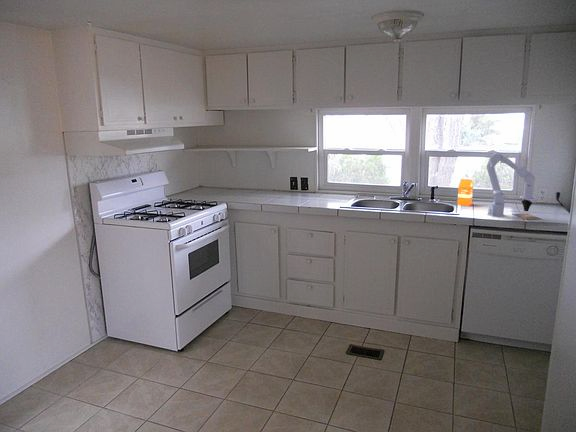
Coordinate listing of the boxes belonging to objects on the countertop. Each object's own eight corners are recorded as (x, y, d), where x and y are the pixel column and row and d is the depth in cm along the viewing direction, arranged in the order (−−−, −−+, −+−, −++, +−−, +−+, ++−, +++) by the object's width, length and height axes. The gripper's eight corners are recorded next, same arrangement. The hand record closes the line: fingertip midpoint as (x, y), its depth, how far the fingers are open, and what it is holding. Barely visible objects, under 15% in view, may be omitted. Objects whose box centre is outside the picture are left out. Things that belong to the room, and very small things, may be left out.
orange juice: (460, 202, 353) (462, 178, 348) (471, 204, 347) (473, 179, 343) (457, 204, 347) (459, 179, 342) (468, 205, 341) (470, 180, 337)
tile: (520, 217, 300) (525, 219, 294) (520, 214, 300) (526, 216, 294) (528, 217, 301) (534, 219, 295) (529, 214, 300) (534, 216, 294)
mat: (525, 220, 294) (525, 219, 294) (511, 214, 310) (511, 214, 310) (542, 219, 295) (542, 219, 295) (527, 214, 311) (527, 213, 311)
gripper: (540, 193, 289) (538, 213, 292) (527, 189, 303) (525, 208, 306) (530, 193, 288) (528, 213, 291) (517, 189, 302) (515, 208, 306)
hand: (526, 211), depth 299 cm, fingers closed
